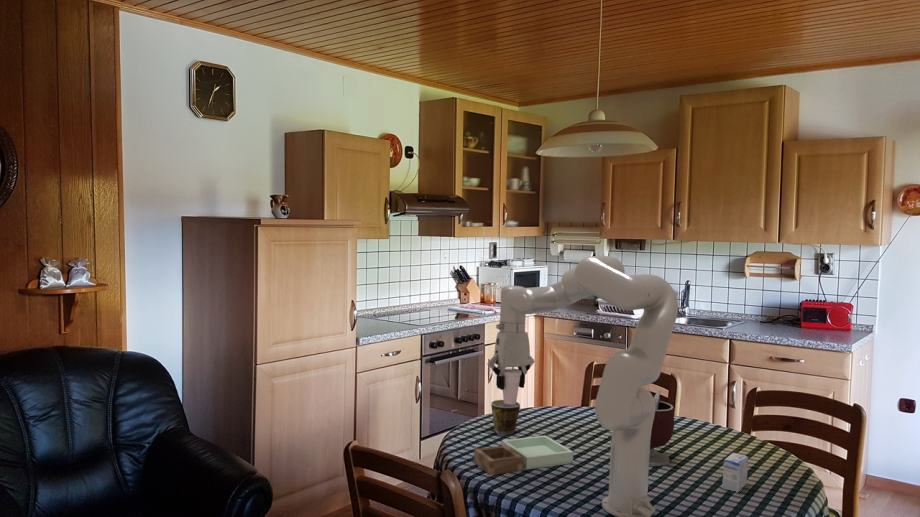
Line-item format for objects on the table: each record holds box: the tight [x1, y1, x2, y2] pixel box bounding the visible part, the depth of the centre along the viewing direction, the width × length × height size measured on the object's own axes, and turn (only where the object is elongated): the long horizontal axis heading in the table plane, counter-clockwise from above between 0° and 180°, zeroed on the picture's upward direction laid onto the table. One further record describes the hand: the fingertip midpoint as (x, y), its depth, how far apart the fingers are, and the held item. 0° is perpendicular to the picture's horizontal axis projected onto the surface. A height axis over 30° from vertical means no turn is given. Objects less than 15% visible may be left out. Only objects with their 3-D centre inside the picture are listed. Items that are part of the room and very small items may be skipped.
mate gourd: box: [649, 389, 675, 467], centre depth 202 cm, size 16×14×20 cm
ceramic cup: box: [490, 399, 521, 436], centre depth 222 cm, size 13×10×10 cm
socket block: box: [473, 445, 523, 476], centre depth 191 cm, size 11×11×4 cm
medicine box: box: [721, 452, 749, 493], centre depth 181 cm, size 8×4×9 cm, turn 141°
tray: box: [501, 435, 574, 470], centre depth 200 cm, size 16×16×4 cm
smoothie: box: [502, 367, 522, 404], centre depth 192 cm, size 6×6×14 cm
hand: (510, 387), depth 192 cm, fingers closed on smoothie, 6 cm apart
